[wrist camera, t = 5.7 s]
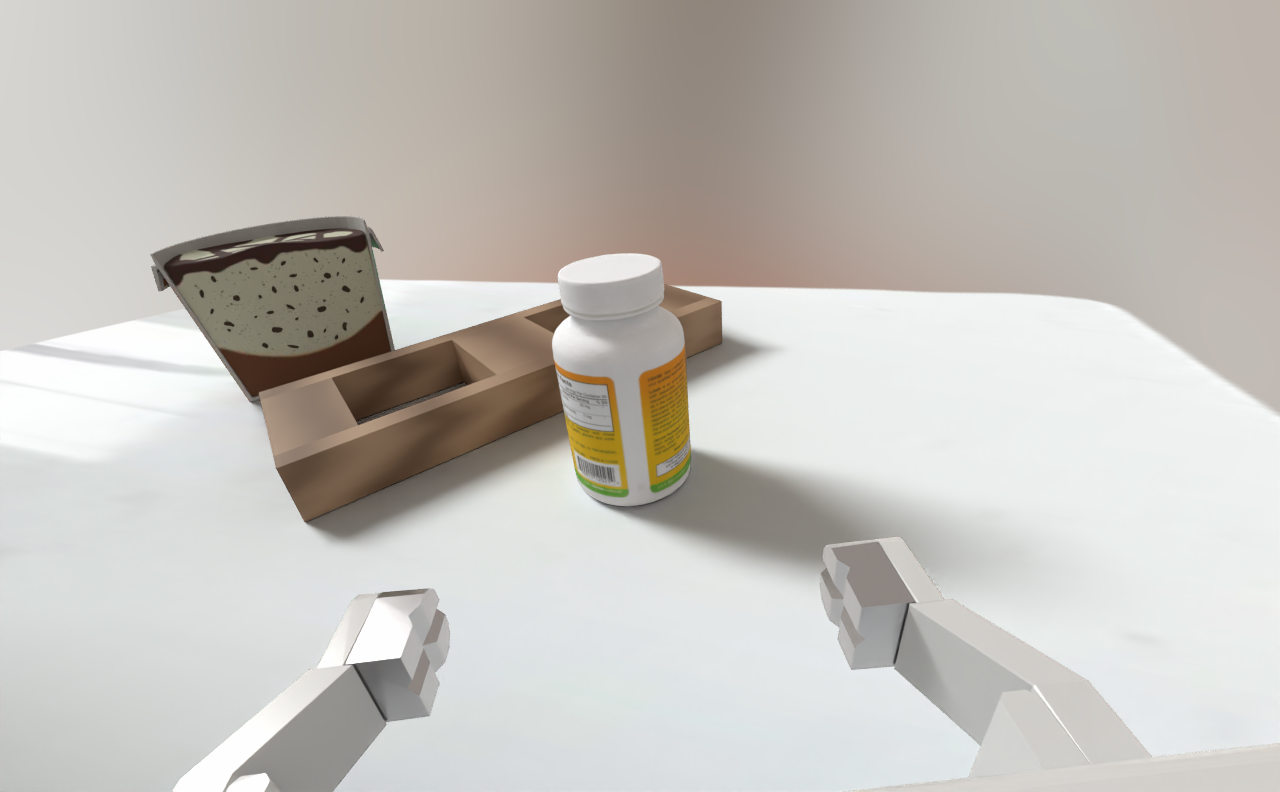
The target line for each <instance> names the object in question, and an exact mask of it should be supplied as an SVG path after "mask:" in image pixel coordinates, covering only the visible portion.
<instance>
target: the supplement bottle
mask: <svg viewBox="0 0 1280 792" xmlns="http://www.w3.org/2000/svg"><path fill="white" fill-rule="evenodd" d="M558 282H559V289H560V296H561V303H562V305H563V308H564V310H565V311H566V312H567V313H568V314H570V316H569V317H568V318H567V319H565V320H564V321H563V322H562V323H561V324H560V325H559V326H558V328H557V329H556V331H555V333H554V336H553V339H552V349H553V356H554V362H555V368H556V372H557V377H558V382H559V388H560V393H561V399H562V404H563V409H564V414H565V420H566V425H567V430H568V435H569V441H570V446H571V451H572V456H573V462H574V467H575V471H576V476H577V479H578V482H579V484H580V486H581V487H582V488H583V490H584V491H585V492H586V493H587V494H589V495H590V496H591V497H593V498H595V499H597V500H599V501H601V502H604V503H607V504H611V505H617V506H636V505H643V504H647V503H651V502H654V501H657V500H659V499H662V498H664V497H666V496H668V495H669V494H671V493H673V492H674V491H675V490H677V489H678V488H679V487H680V486H681V485H682V484H683V483H684V481H685V480H686V478H687V477H688V475H689V472H690V467H691V446H690V432H689V412H688V394H687V374H686V355H685V341H684V332H683V328H682V325H681V323H680V321H679V320H678V318H677V317H676V316H675V315H674V314H673V313H671V312H670V311H668V310H666V309H664V308H662V307H660V306H659V304H660V303H661V302H662V301H663V299H664V282H663V271H662V264H661V262H660V260H659V259H657V258H655V257H652V256H649V255H644V254H630V253H629V254H611V255H602V256H597V257H592V258H587V259H584V260H580V261H577V262H574V263H571V264H569V265H567V266H565V267H564V268H562V269H561V270H560V271H559V273H558Z"/></svg>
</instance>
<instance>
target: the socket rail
mask: <svg viewBox="0 0 1280 792" xmlns="http://www.w3.org/2000/svg"><path fill="white" fill-rule="evenodd" d="M659 306H660V307H662V308H664V309H666V310H668V311H670V312H671V313H673V314H674V315H675V316H676V317H677V318H678V320H679V321H680V323H681V325H682V328H683V332H684V341H685V355H686V358H688V357H690V356H692V355H695V354H697V353H699V352H702V351H704V350H706V349H709V348H711V347H713V346H716V345H718V344H720V343H722V306H721V301H719V300H716V299H712V298H709V297H706V296H702V295H699V294H696V293H692V292H689V291H686V290H682V289H679V288H676V287H672V286H669V285H666V284H664V299H663V301H662V302H661V303H660V304H659ZM569 316H570V314H568V313H567V312H566V311H565V310H564V308H563V305H562V303H561V299H560V300H557V301H553V302H550V303H547V304H544V305H540V306H537V307H534V308H531V309H527V310H524V311H521V312H518V313H515V314H511V315H508V316H505V317H502V318H498V319H495V320H492V321H489V322H485V323H482V324H479V325H476V326H472V327H469V328H466V329H463V330H459V331H456V332H453V333H450V334H446V335H443V336H440V337H437V338H434V339H430V340H427V341H424V342H421V343H417V344H414V345H411V346H408V347H404V348H401V349H398V350H395V351H391V352H388V353H385V354H382V355H378V356H375V357H372V358H369V359H365V360H362V361H359V362H356V363H353V364H349V365H346V366H343V367H340V368H336V369H333V370H330V371H327V372H323V373H320V374H317V375H314V376H310V377H307V378H304V379H301V380H297V381H294V382H291V383H288V384H284V385H281V386H278V387H275V388H272V389H268V390H265V391H262V392H259V396H260V401H261V405H262V409H263V414H264V418H265V422H266V427H267V431H268V435H269V440H270V444H271V448H272V453H273V457H274V461H275V466H276V469H277V471H278V473H279V475H280V477H281V478H282V480H283V482H284V484H285V486H286V488H287V490H288V492H289V493H290V495H291V497H292V499H293V501H294V503H295V505H296V507H297V508H298V510H299V512H300V514H301V516H302V518H303V520H304V522H306V521H309V520H311V519H313V518H316V517H318V516H320V515H322V514H325V513H327V512H329V511H332V510H334V509H336V508H339V507H341V506H343V505H346V504H348V503H350V502H353V501H355V500H357V499H360V498H362V497H364V496H367V495H369V494H371V493H374V492H376V491H378V490H381V489H383V488H385V487H388V486H390V485H392V484H395V483H397V482H399V481H402V480H404V479H406V478H409V477H411V476H413V475H416V474H418V473H420V472H423V471H425V470H427V469H430V468H432V467H434V466H437V465H439V464H441V463H443V462H446V461H448V460H450V459H453V458H455V457H457V456H460V455H462V454H464V453H467V452H469V451H471V450H474V449H476V448H478V447H481V446H483V445H485V444H488V443H490V442H492V441H495V440H497V439H499V438H502V437H504V436H506V435H509V434H511V433H513V432H516V431H518V430H520V429H523V428H525V427H527V426H530V425H532V424H534V423H537V422H539V421H541V420H544V419H546V418H548V417H551V416H553V415H555V414H558V413H560V412H562V411H564V409H563V404H562V399H561V393H560V388H559V382H558V377H557V372H556V368H555V362H554V356H553V349H552V339H553V336H554V333H555V331H556V329H557V328H558V326H559V325H560V324H561V323H562V322H563V321H564V320H565V319H567V318H568V317H569ZM462 382H465V383H466V384H467V386H464V387H462V388H459V389H456V390H453V391H451V392H448V393H445V394H443V395H440V396H437V397H434V398H432V399H429V400H426V401H423V402H421V403H418V404H415V405H412V406H410V407H407V408H404V409H401V410H399V411H396V412H393V413H390V414H388V415H385V416H382V417H379V418H377V419H374V420H371V421H368V422H366V423H363V424H360V425H358V424H357V422H356V420H359V419H362V418H365V417H367V416H370V415H373V414H376V413H378V412H381V411H384V410H387V409H390V408H392V407H395V406H398V405H401V404H403V403H406V402H409V401H412V400H415V399H417V398H420V397H423V396H426V395H428V394H431V393H434V392H437V391H440V390H442V389H445V388H448V387H451V386H453V385H456V384H459V383H462Z"/></svg>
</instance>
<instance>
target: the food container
mask: <svg viewBox="0 0 1280 792" xmlns="http://www.w3.org/2000/svg"><path fill="white" fill-rule="evenodd" d="M372 247H376V248H378V249H380V250H381V251H384V250H383V248H382V246H381V244H380V243H379V241H378V239H377V238H376V236H375V234H374V232H373V230H372V229H371V228H369V227H367V225H366V223H365V220H364V219H363V218H360V217H352V216H336V217H320V218H310V219H300V220H292V221H285V222H278V223H272V224H265V225H260V226H254V227H248V228H243V229H238V230H232V231H228V232H223V233H218V234H214V235H210V236H205V237H201V238H197V239H193V240H190V241H186V242H182V243H179V244H175V245H173V246H169V247H166V248H164V249H162V250H159V251H156V252H155V253H152V254H151V256H152V258H153V261H154V263H155V265H153V266H152V271H153V274H154V278H155V281H156V284H157V288H158V291H163V290H164V289H166V288H167V287H169V286H171V288H172V289H173V291H174V292H175V294H176V295H177V297H178V298H179V299H180V301H181V302H182V304H183V305H184V307H185V308H186V310H187V311H188V313H189V314H190V316H191V317H192V318H193V320H194V321H195V323H196V324H197V326H198V327H199V329H200V330H201V332H202V333H203V334H204V336H205V337H206V339H207V340H208V342H209V343H210V345H211V346H212V348H213V349H214V350H215V352H216V353H217V355H218V356H219V358H220V359H221V361H222V362H223V364H224V365H225V366H226V368H227V369H228V371H229V372H230V374H231V375H232V377H233V378H234V380H235V381H236V382H237V384H238V385H239V387H240V388H241V390H242V391H243V393H244V394H245V396H246V397H247V398H248V400H249V401H250V402H252V401H256V400H260V396H259V392H262V391H265V390H268V389H272V388H275V387H278V386H281V385H284V384H288V383H291V382H294V381H297V380H301V379H304V378H307V377H310V376H314V375H317V374H320V373H323V372H327V371H330V370H333V369H336V368H340V367H343V366H346V365H349V364H353V363H356V362H359V361H362V360H365V359H369V358H372V357H375V356H378V355H382V354H385V353H388V352H391V351H395V349H394V345H393V340H392V336H391V331H390V327H389V322H388V318H387V313H386V308H385V304H384V299H383V295H382V290H381V286H380V281H379V278H378V273H377V268H376V263H375V259H374V254H373V250H372Z"/></svg>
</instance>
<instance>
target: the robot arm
mask: <svg viewBox="0 0 1280 792" xmlns="http://www.w3.org/2000/svg"><path fill="white" fill-rule="evenodd" d="M822 559H823V561H824V563H825V565H826V569H825V570H824V571H823V572H822V573H821V575H820V590H821V598H822V602H823V605H824V608H825V611H826V613H827V616H828V618H829V620H830V621H831V622H833V623H834V624H835V625H837V626H838V627H839V633H838V641H839V644H840V646H841V648H842V650H843V653H844V655H845V657H846V659H847V662H848V664H849V666H850V668H851V670H856V669H868V668H880V667H893V666H895V668H894V669H895V670H896V671H898V672H899V673H900V674H901V675H902V676H903V677H904V678H905V679H906V680H908V681H909V682H910V683H911V684H912V685H913V686H914V687H915V688H917V689H918V690H919V691H920V692H921V693H922V694H923V695H924V696H926V697H927V698H928V699H929V700H930V701H931V702H932V703H933V704H935V705H936V706H937V707H938V708H939V709H940V710H941V711H942V712H943V713H945V714H946V715H947V716H948V717H949V718H950V719H951V720H952V721H954V722H955V723H956V724H957V725H958V726H959V727H960V728H961V729H963V730H964V731H965V732H966V733H967V734H968V735H969V736H970V737H972V738H973V739H974V740H975V741H976V742H977V743H978V744H979V745H981V747H980V749H979V752H978V754H977V757H976V759H975V762H974V764H973V767H972V769H971V772H970V774H969V778H961V779H952V780H943V781H934V782H925V783H916V784H907V785H898V786H889V787H880V788H871V789H862V790H853V791H844V792H1280V743H1276V744H1267V745H1258V746H1249V747H1240V748H1231V749H1222V750H1213V751H1204V752H1195V753H1186V754H1177V755H1168V756H1159V757H1152V756H1151V755H1150V754H1149V752H1148V751H1147V750H1146V749H1145V748H1144V746H1143V745H1142V744H1141V743H1140V742H1139V740H1138V739H1137V738H1136V737H1135V736H1134V735H1133V733H1132V732H1131V731H1130V730H1129V729H1128V727H1127V726H1126V725H1125V724H1124V723H1123V721H1122V720H1121V719H1120V718H1119V717H1118V715H1117V714H1116V713H1115V712H1114V711H1113V709H1112V708H1111V707H1110V706H1109V705H1108V703H1107V702H1106V701H1105V700H1104V699H1103V697H1102V696H1101V695H1100V694H1099V693H1098V691H1097V690H1096V689H1095V688H1094V687H1093V685H1092V684H1091V683H1090V682H1089V681H1088V680H1086V679H1085V678H1083V677H1081V676H1080V675H1078V674H1076V673H1075V672H1073V671H1071V670H1070V669H1068V668H1066V667H1065V666H1063V665H1061V664H1060V663H1058V662H1056V661H1055V660H1053V659H1051V658H1050V657H1048V656H1046V655H1045V654H1043V653H1041V652H1040V651H1038V650H1036V649H1035V648H1033V647H1031V646H1030V645H1028V644H1026V643H1025V642H1023V641H1021V640H1020V639H1018V638H1016V637H1015V636H1013V635H1011V634H1010V633H1008V632H1006V631H1005V630H1003V629H1001V628H1000V627H998V626H996V625H995V624H993V623H991V622H990V621H988V620H986V619H985V618H983V617H981V616H980V615H978V614H976V613H975V612H973V611H971V610H970V609H968V608H966V607H965V606H963V605H961V604H960V603H958V602H956V601H955V600H953V599H948V600H945V599H944V598H943V596H942V595H941V593H940V592H939V590H938V589H937V588H936V586H935V585H934V583H933V582H932V580H931V579H930V577H929V576H928V575H927V573H926V572H925V570H924V569H923V567H922V566H921V564H920V563H919V562H918V560H917V559H916V557H915V556H914V554H913V553H912V552H911V550H910V549H909V547H908V546H907V544H906V543H905V541H904V540H903V539H901V538H900V537H890V538H881V539H874V540H862V541H854V542H846V543H837V544H829V545H826V546H825V547H824V549H823V556H822ZM438 603H439V598H438V596H437V594H436V592H435V590H434V589H417V590H405V591H393V592H382V593H374V594H362V595H358V596H357V597H355V598H354V599H353V600H352V601H351V603H350V605H349V607H348V609H347V610H346V612H345V614H344V616H343V618H342V620H341V622H340V624H339V626H338V628H337V630H336V632H335V634H334V636H333V637H332V639H331V641H330V643H329V645H328V647H327V649H326V651H325V653H324V655H323V657H322V659H321V661H320V663H319V664H318V666H317V668H315V669H309V670H308V671H306V672H305V673H304V674H303V675H302V676H301V677H299V678H298V679H297V680H296V681H295V682H294V683H292V684H291V685H290V686H289V687H288V688H287V689H285V690H284V691H283V692H282V693H281V694H279V695H278V696H277V697H276V698H275V699H274V700H272V701H271V702H270V703H269V704H268V705H267V706H265V707H264V708H263V709H262V710H261V711H260V712H258V713H257V714H256V715H255V716H254V717H253V718H251V719H250V720H249V721H248V722H247V723H246V724H244V725H243V726H242V727H241V728H240V729H239V730H237V731H236V732H235V733H234V734H233V735H232V736H230V737H229V738H228V739H227V740H226V741H225V742H223V743H222V744H221V745H220V746H219V747H217V748H216V749H215V750H214V751H213V752H212V753H210V754H209V755H208V756H207V757H206V758H205V759H203V760H202V761H201V762H200V763H199V764H198V765H196V766H195V767H194V768H193V769H192V770H191V771H189V772H188V773H187V774H186V775H185V776H184V777H182V778H181V779H180V780H179V782H178V783H177V785H176V786H175V788H174V789H173V791H172V792H333V791H334V789H335V788H336V787H337V786H338V784H339V783H340V782H341V781H342V779H343V778H344V777H345V776H346V774H347V773H348V772H349V771H350V769H351V768H352V767H353V766H354V764H355V763H356V762H357V761H358V760H359V758H360V757H361V756H362V755H363V753H364V752H365V751H366V750H367V748H368V747H369V746H370V745H371V743H372V742H373V741H374V740H375V738H376V737H377V736H378V735H379V733H380V732H381V731H382V730H383V728H384V727H385V726H386V722H390V721H397V720H404V719H412V718H419V717H426V716H430V713H431V710H432V706H433V703H434V699H435V696H436V693H437V689H438V686H439V681H438V679H437V677H436V674H435V672H436V671H437V670H438V669H439V668H440V667H441V666H442V665H443V664H444V663H445V662H446V658H447V654H448V650H449V641H450V630H449V623H448V620H447V618H446V615H445V614H444V613H442V612H440V611H439V610H437V606H438Z"/></svg>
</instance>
